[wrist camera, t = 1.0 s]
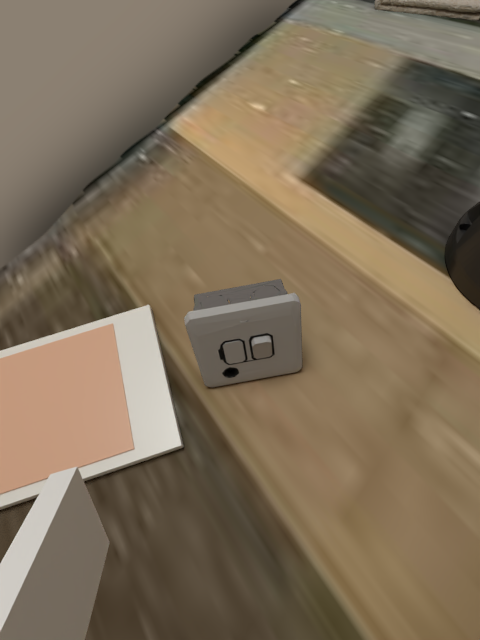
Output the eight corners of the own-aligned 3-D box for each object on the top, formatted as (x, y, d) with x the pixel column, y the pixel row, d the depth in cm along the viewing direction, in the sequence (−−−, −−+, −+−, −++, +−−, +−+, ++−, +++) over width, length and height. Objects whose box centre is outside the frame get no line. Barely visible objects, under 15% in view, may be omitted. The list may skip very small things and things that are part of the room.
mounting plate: (152, 309, 41) (148, 303, 40) (184, 447, 34) (181, 444, 33) (-35, 367, 39) (-44, 363, 38) (-43, 524, 32) (-54, 524, 31)
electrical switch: (205, 390, 36) (184, 339, 28) (200, 344, 39) (180, 286, 31) (302, 372, 36) (307, 317, 29) (290, 327, 39) (292, 266, 31)
